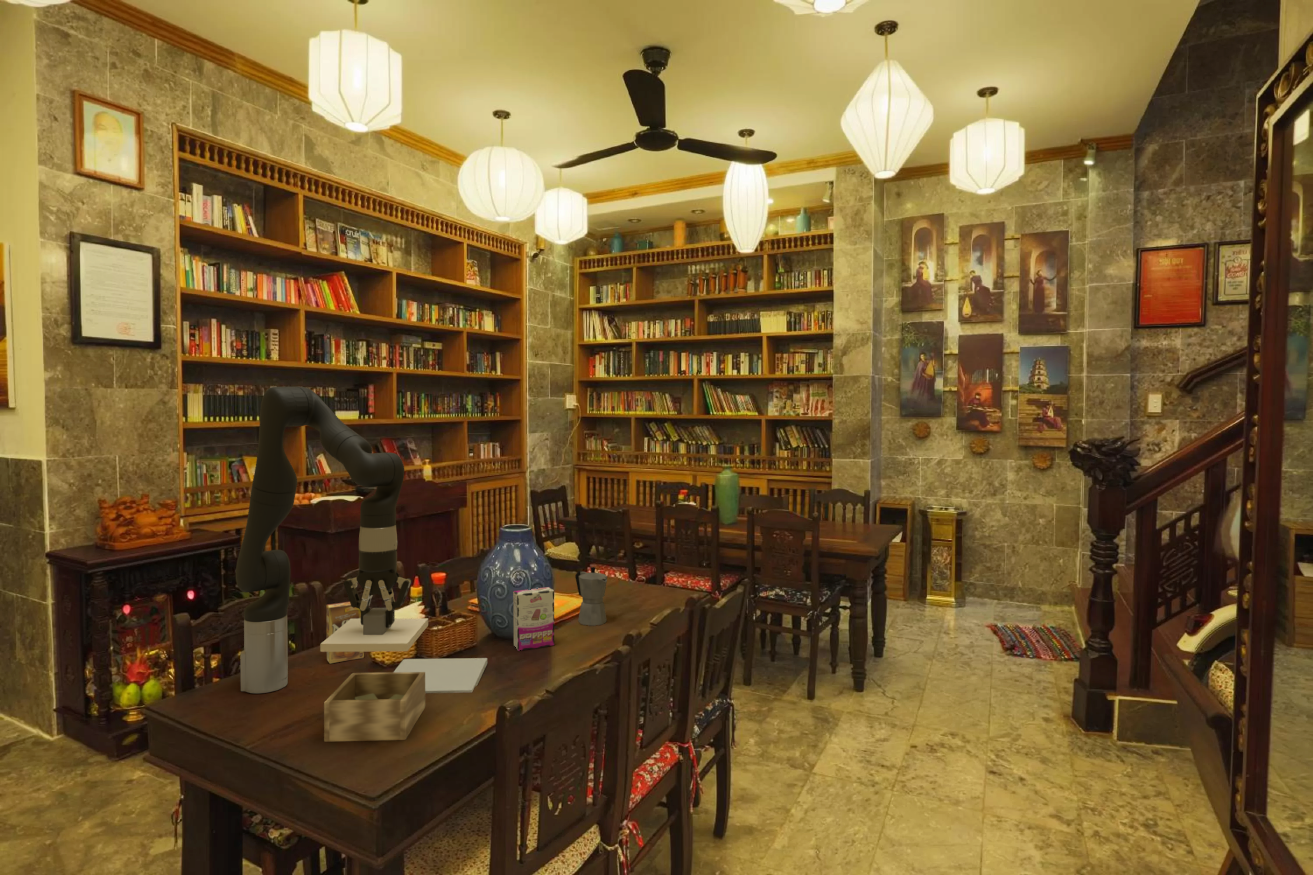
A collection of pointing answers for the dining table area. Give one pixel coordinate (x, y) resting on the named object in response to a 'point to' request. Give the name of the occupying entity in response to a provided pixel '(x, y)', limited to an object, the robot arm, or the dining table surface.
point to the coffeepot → (591, 597)
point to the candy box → (335, 620)
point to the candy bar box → (533, 618)
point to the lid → (375, 634)
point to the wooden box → (374, 707)
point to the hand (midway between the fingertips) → (377, 626)
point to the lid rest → (447, 673)
